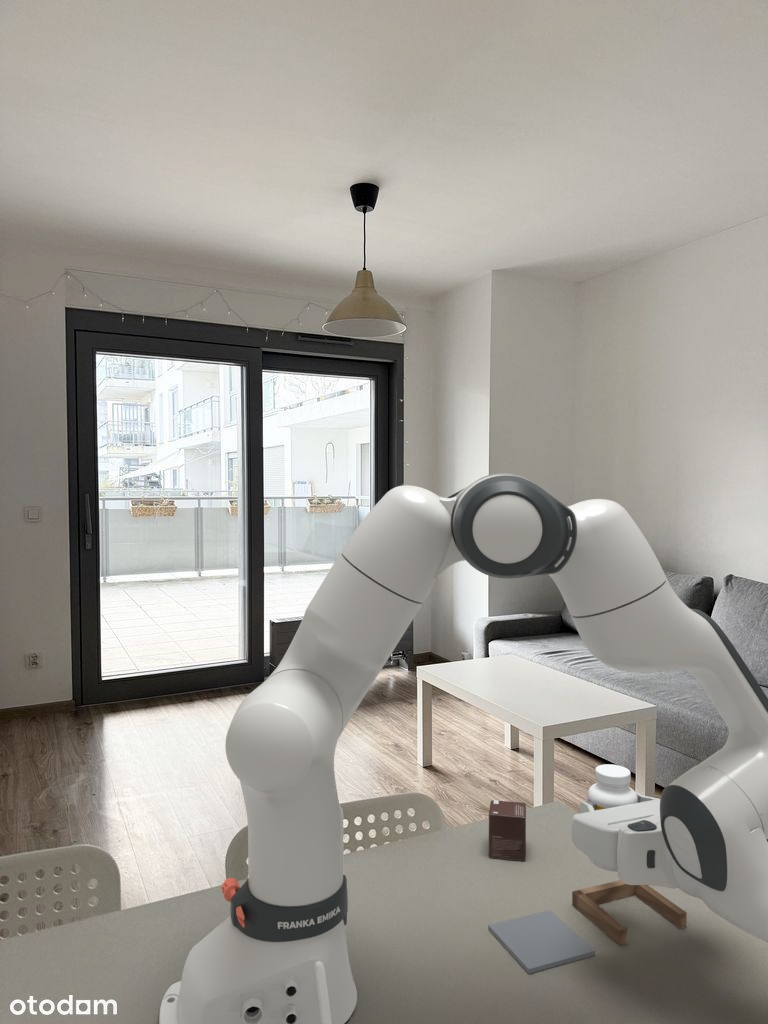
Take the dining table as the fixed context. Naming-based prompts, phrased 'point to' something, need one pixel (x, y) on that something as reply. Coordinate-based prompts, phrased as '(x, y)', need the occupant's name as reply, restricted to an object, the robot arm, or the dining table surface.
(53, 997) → the dining table surface
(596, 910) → the walnut cradle
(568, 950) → the grey mat
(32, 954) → the dining table surface
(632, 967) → the dining table surface
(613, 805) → the supplement bottle
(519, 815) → the box
